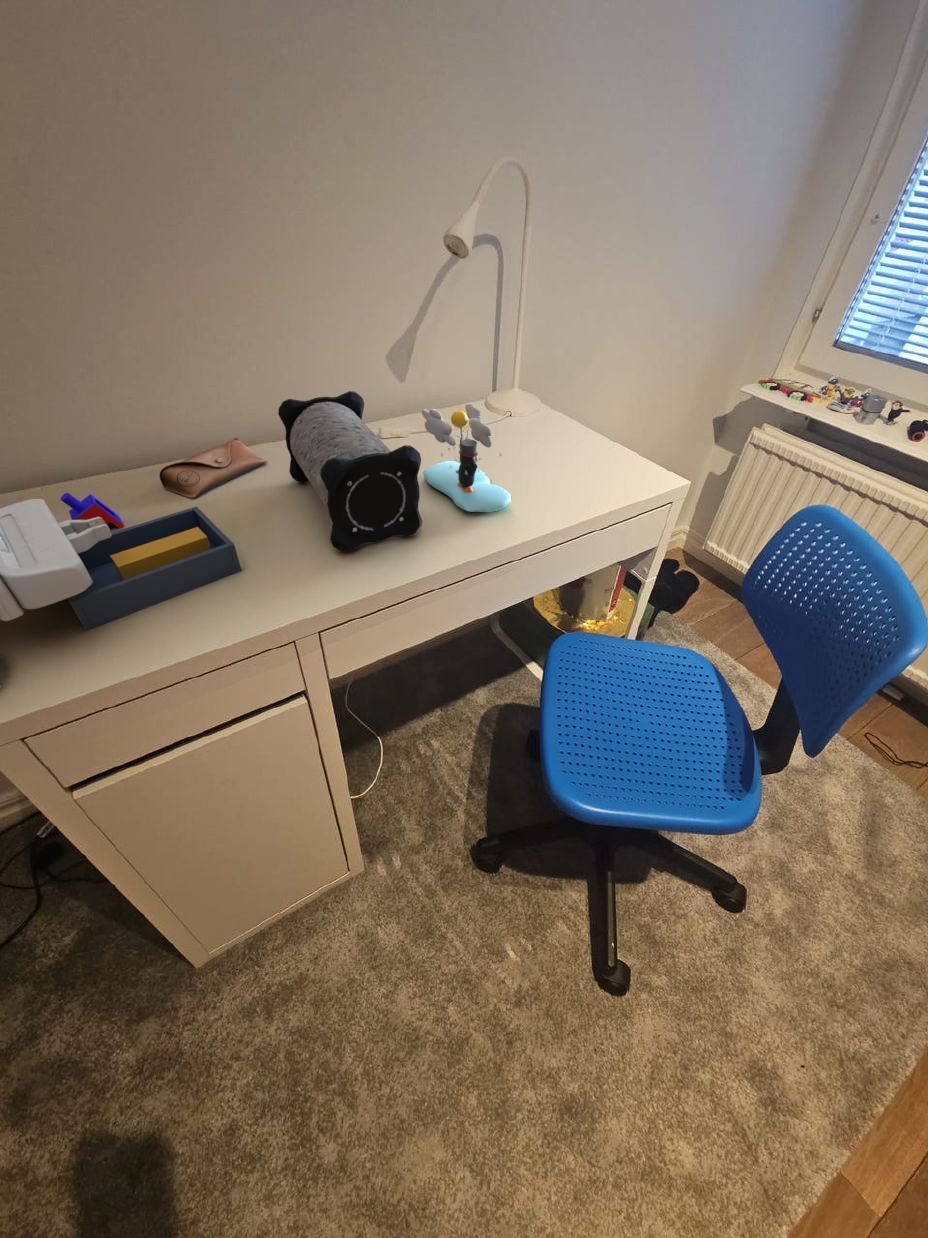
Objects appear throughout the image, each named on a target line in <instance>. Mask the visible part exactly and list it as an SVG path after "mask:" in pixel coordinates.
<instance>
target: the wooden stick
mask: <svg viewBox="0 0 928 1238" xmlns="http://www.w3.org/2000/svg"><path fill="white" fill-rule="evenodd" d="M210 549H211V547H210V544H209V541H208V538H207V536H206V535H205V534H204V533H203V532H202V531H201V530H200V529H199V528H198V527H196V528H193V529H190V530H187V531H184V532H181V533H177V534H174V535H171V536H168V537H165V538H162V539H159V540H156V541H153V542H150V543H147V544H144V545H141V546H138V547H135V548H132V549H129V550H126V551H123V552H119V553H116V554H113V555H110V557H111V559H112V561H113V563H114V565H115V567H116V569H117V572H118V574H119V576H120V577H121V579H122V580H126V579H128V578H131V577H134V576H137V575H140V574H143V573H145V572H148V571H151V570H154V569H157V568H159V567H162V566H165V565H168V564H171V563H174V562H176V561H179V560H182V559H185V558H188V557H191V556H193V555H196V554H199V553H202V552H205V551H208V550H210Z"/></svg>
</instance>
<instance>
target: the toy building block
mask: <svg viewBox="0 0 928 1238" xmlns="http://www.w3.org/2000/svg"><path fill="white" fill-rule="evenodd" d="M59 499H60V501H61V502H62V503H64V504H65V505H67V506H68V507H69V508H70V510H69V511H68V512H69V515H70V518H71V520H88V519H92V518H95V517H101V518H102V519H103V520H104V522H105V523H106V524H107V525H108V524H109V523H112V524H113V525H114V526H116V527H117V528H118V529H121V528H122V527H123V526H124V522H123V521H122V518H121V516H120V515H119V514H118V513H116V512H115V511H114V510H113V509H112V508H110V507H109V506H108V505H106V504H104V503H103V502H102V501H101V500H100V499H98V498H97V497H95V496H94V495H93V494H92V493H90V494H88V495H87V496H86V497H84V499H82V500H79V499H77V497H75V496H73V494H71V493H70V492H65V493H64V494H62V496H61V497H60V498H59Z"/></svg>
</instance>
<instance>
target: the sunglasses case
mask: <svg viewBox="0 0 928 1238" xmlns="http://www.w3.org/2000/svg"><path fill="white" fill-rule="evenodd" d="M267 462H268V461H267V460H266V459H262V458H261V457H260V456H259V455H258V454H257V453H255V452H253V451H252V450H251V449H250V448H249V447H247V446H246V445H245V444H244V443H243V442H241V441H240V440H239V438H238V437H234V438H232V439H231V440H229V441H227V442H225V443H223V444H219V445H217V446H214V447H211V448H209V449H206V450H204V451H201V452H200V453H197V454H195V455H192V456H190V457H188V458H185V459H184V460H180V461H179V462H174V463H170V464H168V465H166V466H165V467H163V468H162V469H161V470H160V471H159V481H160V482H161V484H162V486H163V488H164V489H165V490H167V491H169V492H172V493H173V494H176V495H179V496H182V497H185V498H189V499H194V498H197V497H199V496H201V495H202V494H204V493H205V492H208V491H210V490H211V489H214V488H217V487H218V486H220V485H222V484H225V483H227V482H229V481H232V480H233V479H236V478H238V477H240V476H243V475H245V474H246V473H249V472H251V471H253V470H255V469H256V468H259V467H261V466H262V465H264V464H266V463H267Z"/></svg>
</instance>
